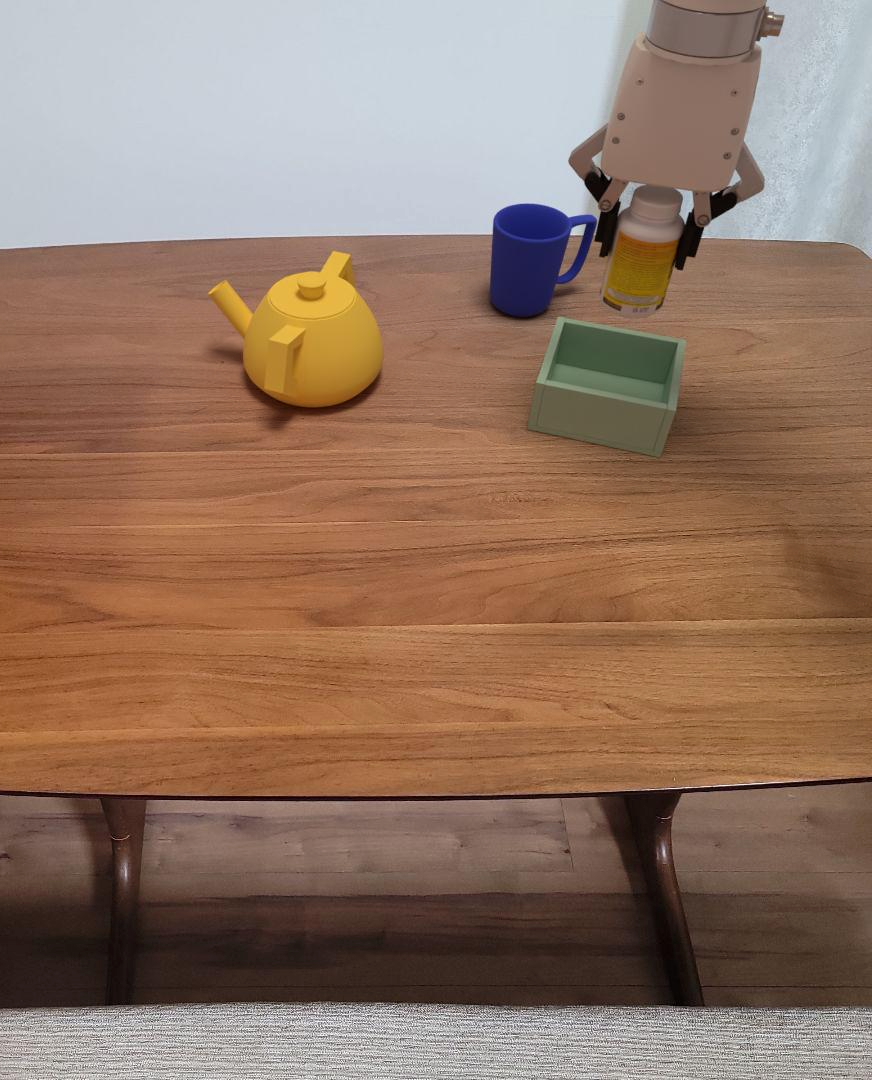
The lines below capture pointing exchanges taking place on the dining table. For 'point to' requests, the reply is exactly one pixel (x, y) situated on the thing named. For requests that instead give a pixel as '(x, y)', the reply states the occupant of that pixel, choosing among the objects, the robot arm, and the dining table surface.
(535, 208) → the mug
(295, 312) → the teapot
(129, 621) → the dining table surface
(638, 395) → the bin
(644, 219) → the supplement bottle
